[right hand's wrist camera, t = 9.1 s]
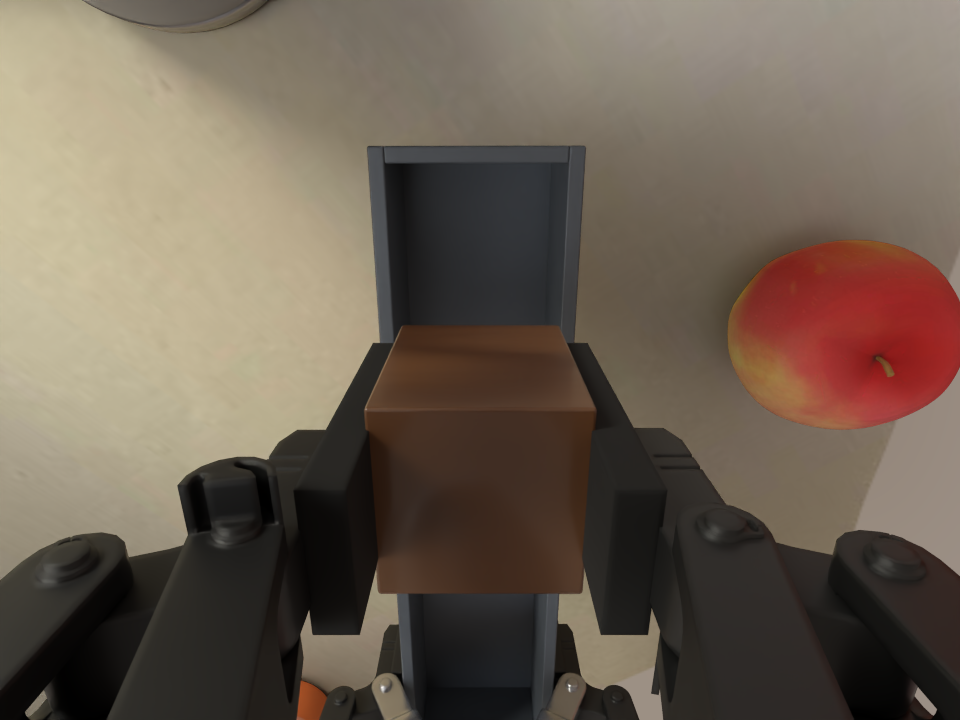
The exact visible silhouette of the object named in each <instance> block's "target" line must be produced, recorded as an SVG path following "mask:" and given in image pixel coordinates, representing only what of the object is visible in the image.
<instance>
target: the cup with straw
mask: <svg viewBox="0 0 960 720" xmlns="http://www.w3.org/2000/svg"><path fill="white" fill-rule="evenodd" d="M326 699H327V697H326V696H325V694H324V693H323V692H322V691H321V690H319V689H318V688H317V687H315V686H314V685H312V684H309V683H307V682H304V681H301V685H300V694H299V704H298V713H297V720H319V718H320V716H321V713H322V710H323V707H324V705H325V702H326Z"/></svg>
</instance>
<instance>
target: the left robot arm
mask: <svg viewBox="0 0 960 720" xmlns="http://www.w3.org/2000/svg"><path fill="white" fill-rule="evenodd" d="M319 720H422V719H421V716H420V714H419V712H418V711H417V709H416V708H414V709H413V708H412V706H411V704H410V701H409V699H408V697H407V695H406V693H405V691H404V689H403V677H402V662H401V647H400V632H399V625H389V627H388V628H387V630H386V631H385V633H384V638H383V643H382V648H381V653H380V658H379V663H378V668H377V674H376V677H375V679H374V680H373V682H372V683H371V684H370V685H368V686H367V687H365V688H362V689H359V690H356V691H354V690H353V689H352V688H350V687H347V686H341V687H338V688H335V689H334V690H332V691H331V692H330V693H329V695H328V697H327V699H326V702H325V705H324V707H323V710H322V713H321V716H320V718H319ZM536 720H639V718H638V715H637V712H636V710H635V707H634V704H633V701H632V699H631V696H630V694H629V693H628V691H627V690H626V689H624V688H623V687H620V686H618V685H610V686H608V687H606V688H605V689H604V690H601V689H597V688H594V687H592V686H590V685H588V684H587V683H586V682H585V680H584V679H583V678H582V676H581V673H580V668H579V663H578V658H577V653H576V647H575V643H574V637H573V632H572V631H571V629H570V628H569V626H568V625H567V624H558V622H557V639H556V655H555V672H554V689H553V693H552V695H551V697H550V700H549V702H548V704H547V706H546V708H545V709H544V708H542V709H541V711H540V712H539V715H538V717H537V719H536Z"/></svg>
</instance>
